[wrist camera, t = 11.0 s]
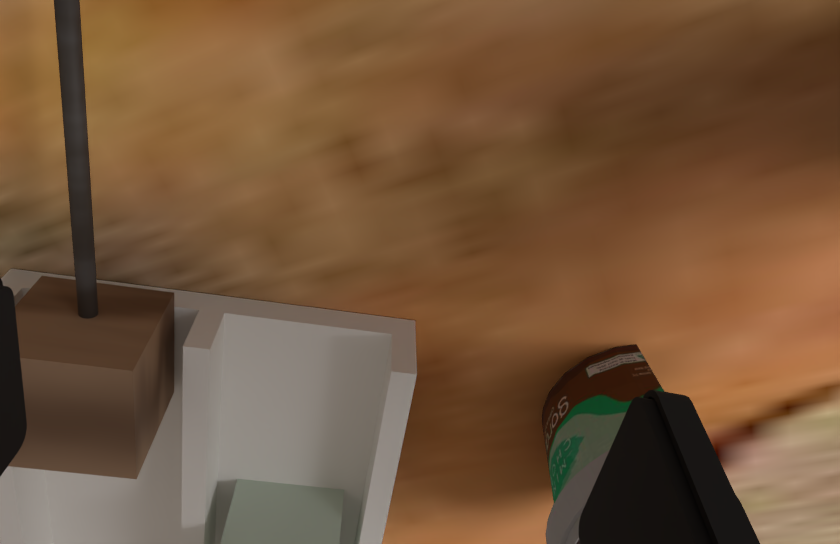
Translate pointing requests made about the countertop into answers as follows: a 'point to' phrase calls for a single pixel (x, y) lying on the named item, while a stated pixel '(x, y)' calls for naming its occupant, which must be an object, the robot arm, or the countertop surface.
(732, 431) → the countertop surface
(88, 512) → the white tray
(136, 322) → the brown block with stick
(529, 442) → the countertop surface
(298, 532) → the sage block
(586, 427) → the food container
